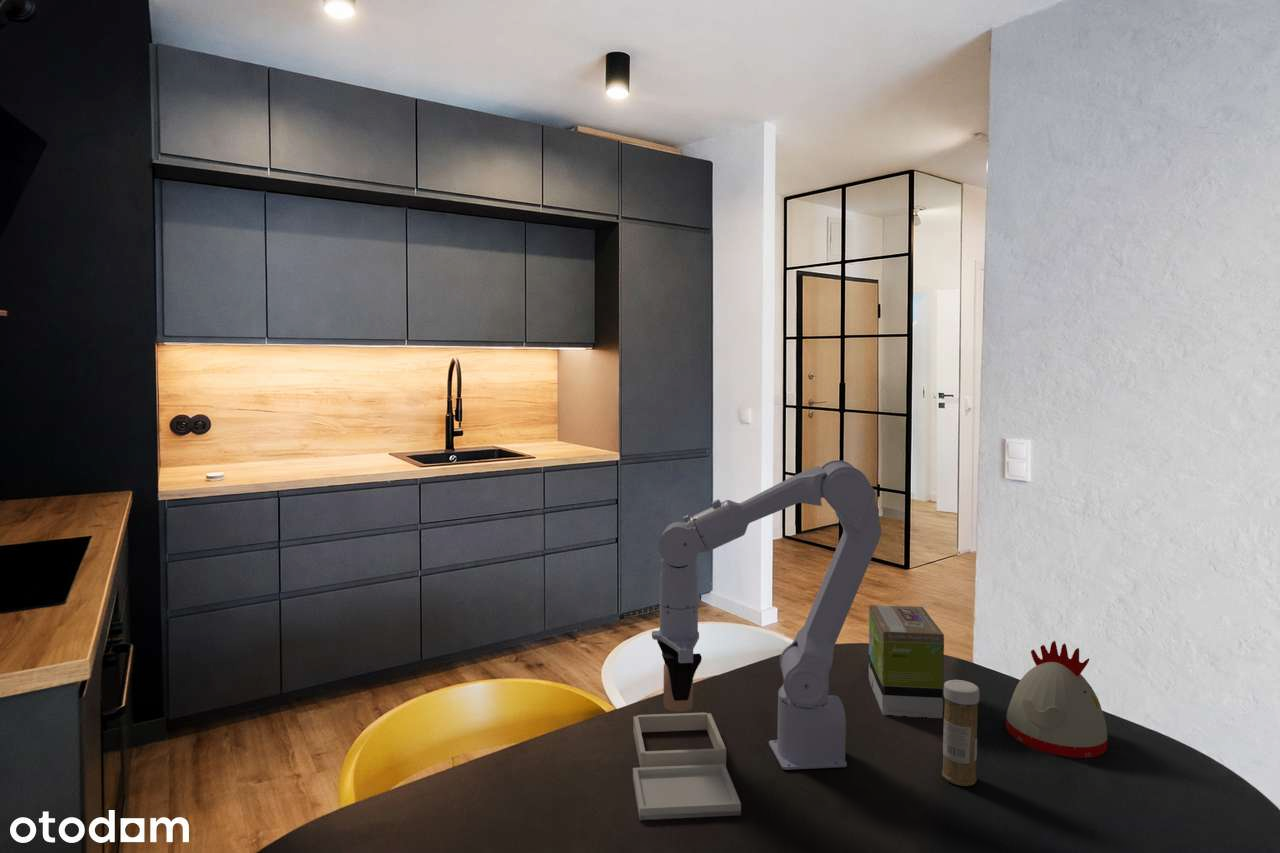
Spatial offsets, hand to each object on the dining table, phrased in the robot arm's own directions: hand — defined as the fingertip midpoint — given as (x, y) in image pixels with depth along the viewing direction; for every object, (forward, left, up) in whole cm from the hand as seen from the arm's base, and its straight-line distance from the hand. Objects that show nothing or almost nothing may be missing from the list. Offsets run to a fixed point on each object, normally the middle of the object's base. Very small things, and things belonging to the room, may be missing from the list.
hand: (678, 692), depth 112 cm
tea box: (-42, -14, -9) cm, 45 cm away
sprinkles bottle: (-38, +12, -9) cm, 41 cm away
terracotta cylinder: (0, 0, -2) cm, 2 cm away
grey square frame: (0, 0, -9) cm, 9 cm away
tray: (+1, +13, -9) cm, 16 cm away
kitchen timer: (-60, +1, -9) cm, 61 cm away
